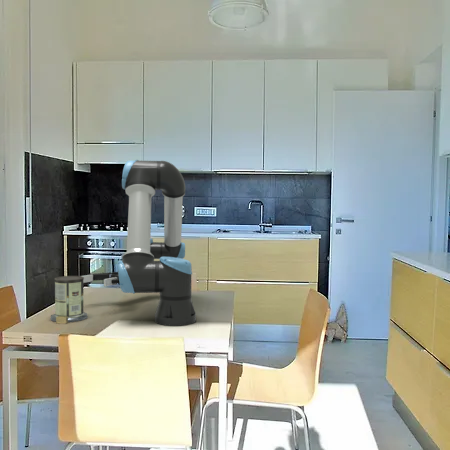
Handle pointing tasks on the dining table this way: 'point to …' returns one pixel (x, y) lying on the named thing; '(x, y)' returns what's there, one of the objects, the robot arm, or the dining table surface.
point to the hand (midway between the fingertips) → (91, 281)
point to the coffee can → (69, 296)
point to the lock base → (67, 319)
